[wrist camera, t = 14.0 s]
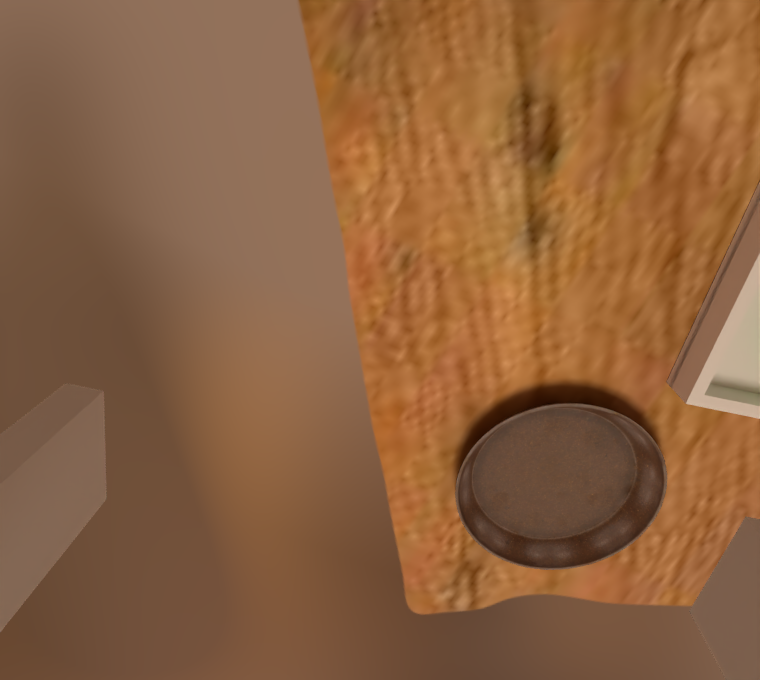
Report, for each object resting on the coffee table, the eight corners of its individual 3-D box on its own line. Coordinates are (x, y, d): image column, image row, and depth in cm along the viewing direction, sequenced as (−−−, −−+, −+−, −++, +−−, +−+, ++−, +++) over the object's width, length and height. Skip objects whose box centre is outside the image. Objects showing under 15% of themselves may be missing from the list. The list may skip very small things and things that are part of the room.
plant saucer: (696, 470, 48) (713, 493, 45) (544, 575, 54) (551, 601, 51) (560, 346, 44) (570, 362, 41) (413, 474, 50) (413, 496, 47)
